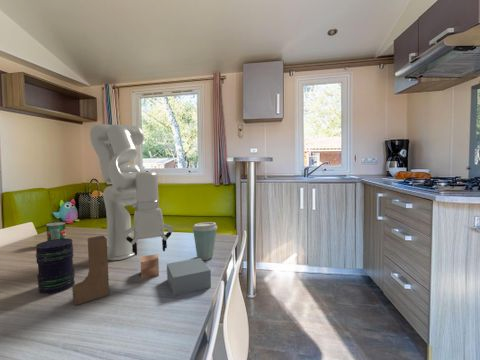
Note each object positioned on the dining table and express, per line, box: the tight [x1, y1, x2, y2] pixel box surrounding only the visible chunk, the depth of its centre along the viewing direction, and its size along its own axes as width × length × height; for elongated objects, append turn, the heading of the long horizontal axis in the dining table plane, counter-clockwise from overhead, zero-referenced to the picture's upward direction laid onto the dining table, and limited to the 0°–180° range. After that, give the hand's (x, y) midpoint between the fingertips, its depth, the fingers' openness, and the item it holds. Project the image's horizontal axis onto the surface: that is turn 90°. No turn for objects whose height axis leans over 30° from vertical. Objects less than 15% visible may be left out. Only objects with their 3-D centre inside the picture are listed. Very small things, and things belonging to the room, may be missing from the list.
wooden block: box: [71, 235, 110, 306], centre depth 75 cm, size 9×4×18 cm, turn 130°
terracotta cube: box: [140, 254, 160, 279], centre depth 92 cm, size 6×6×6 cm
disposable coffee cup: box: [192, 221, 218, 261], centre depth 107 cm, size 11×11×15 cm
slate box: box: [166, 257, 212, 297], centre depth 84 cm, size 12×12×6 cm
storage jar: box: [35, 238, 76, 295], centre depth 82 cm, size 10×10×15 cm
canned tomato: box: [45, 221, 67, 241], centre depth 127 cm, size 8×8×11 cm
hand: (150, 252), depth 91 cm, fingers open, 9 cm apart
